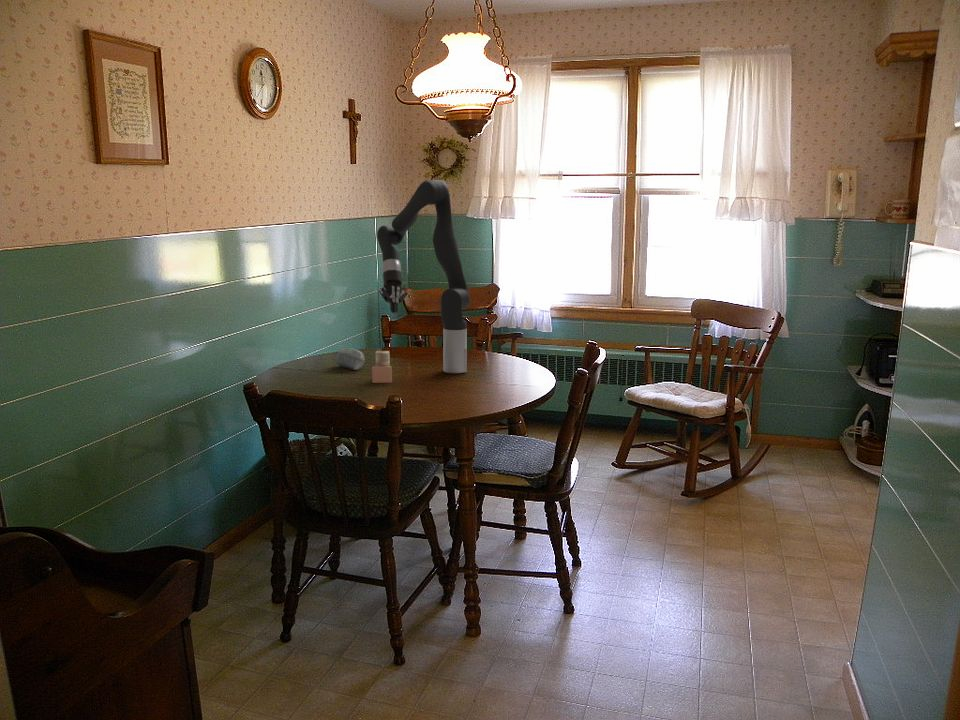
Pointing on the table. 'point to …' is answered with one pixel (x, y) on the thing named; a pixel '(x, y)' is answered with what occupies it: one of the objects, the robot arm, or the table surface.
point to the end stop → (382, 374)
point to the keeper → (382, 358)
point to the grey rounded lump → (350, 358)
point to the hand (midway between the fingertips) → (394, 312)
